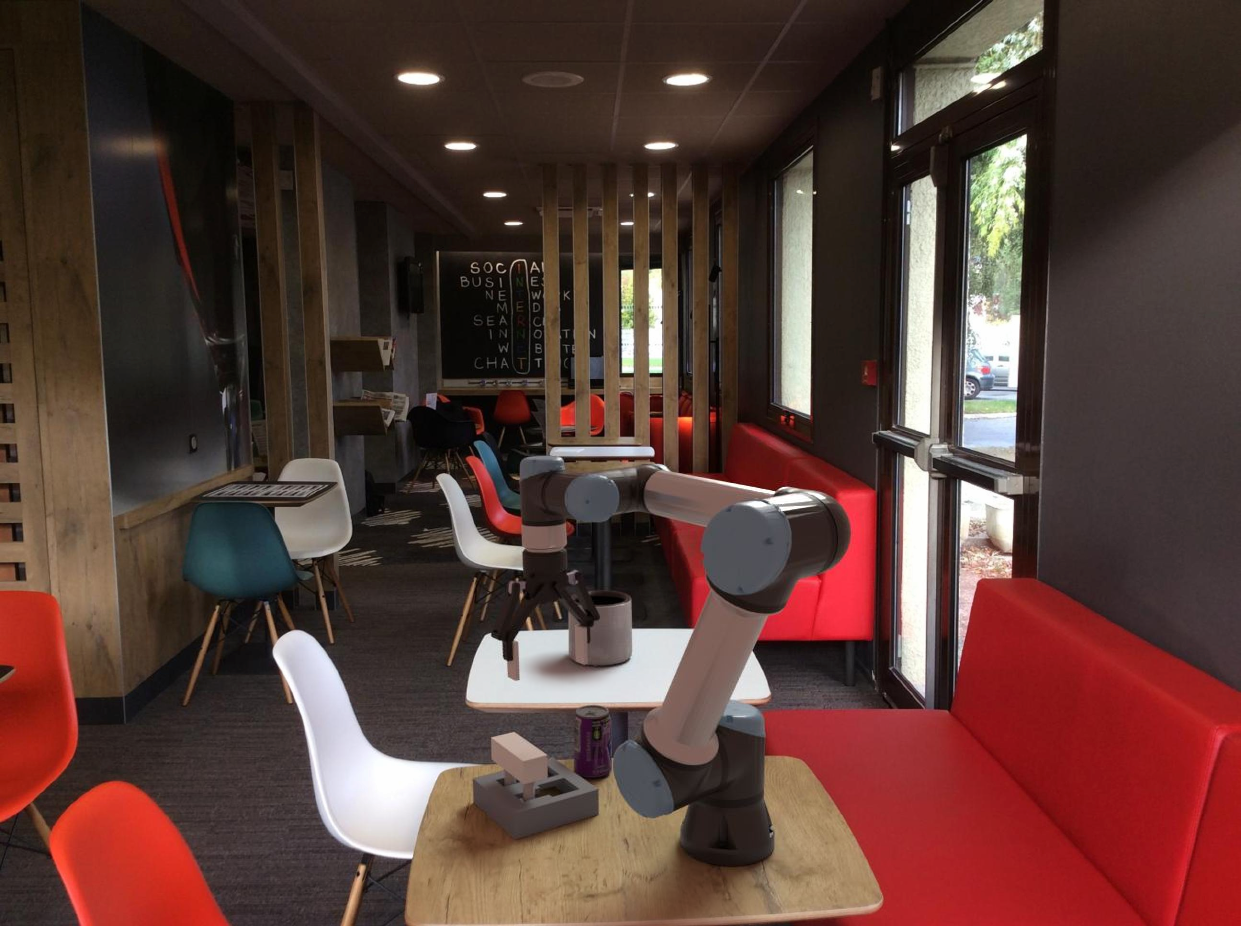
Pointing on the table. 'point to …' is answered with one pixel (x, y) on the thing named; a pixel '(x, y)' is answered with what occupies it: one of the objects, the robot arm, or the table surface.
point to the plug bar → (519, 762)
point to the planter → (606, 629)
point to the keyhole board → (536, 801)
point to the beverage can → (592, 741)
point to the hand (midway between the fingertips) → (548, 670)
